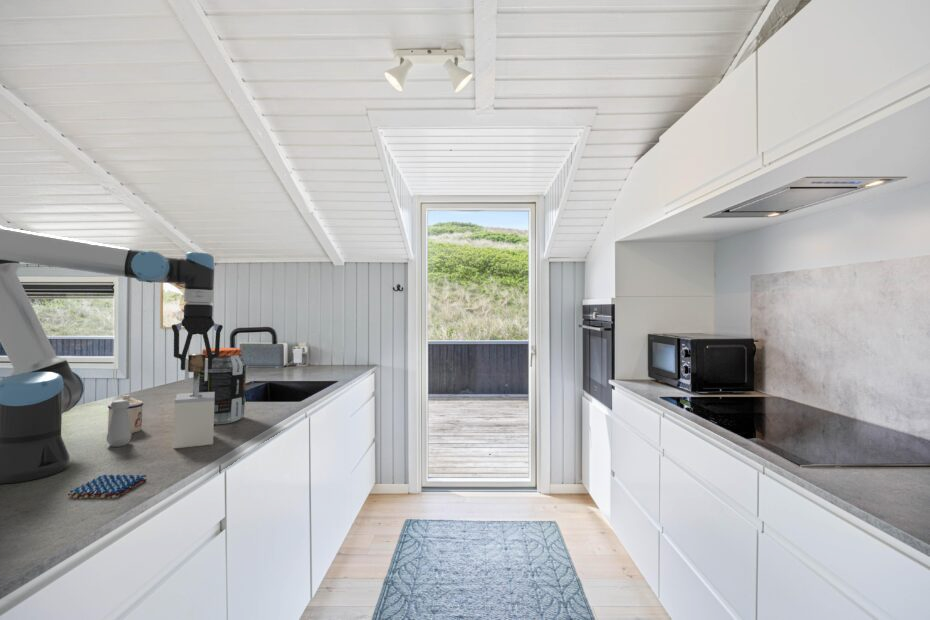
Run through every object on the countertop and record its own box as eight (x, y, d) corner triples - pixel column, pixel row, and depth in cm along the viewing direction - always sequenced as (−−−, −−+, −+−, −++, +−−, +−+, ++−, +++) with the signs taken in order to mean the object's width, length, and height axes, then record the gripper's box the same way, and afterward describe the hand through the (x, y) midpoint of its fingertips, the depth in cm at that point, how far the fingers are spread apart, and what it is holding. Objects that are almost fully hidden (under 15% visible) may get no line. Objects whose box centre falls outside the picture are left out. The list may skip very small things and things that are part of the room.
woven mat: (101, 481, 103) (101, 473, 103) (148, 482, 104) (148, 473, 104) (64, 501, 93) (64, 491, 93) (116, 501, 94) (117, 491, 94)
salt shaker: (102, 445, 127) (103, 400, 127) (125, 440, 132) (126, 397, 132) (112, 449, 125) (113, 403, 125) (135, 443, 130) (136, 399, 130)
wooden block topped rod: (179, 437, 129) (182, 356, 129) (181, 431, 135) (183, 353, 135) (208, 435, 132) (210, 355, 132) (208, 429, 139) (210, 353, 139)
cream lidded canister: (142, 432, 141) (143, 396, 141) (105, 437, 135) (107, 399, 135) (142, 424, 150) (143, 390, 150) (108, 427, 145) (109, 392, 145)
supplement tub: (253, 419, 161) (255, 349, 161) (209, 428, 148) (211, 351, 148) (229, 412, 170) (231, 346, 170) (185, 420, 156) (187, 348, 156)
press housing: (173, 448, 127) (174, 400, 127) (176, 439, 136) (177, 393, 136) (213, 444, 132) (214, 397, 132) (213, 435, 140) (214, 391, 140)
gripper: (162, 302, 126) (160, 384, 126) (231, 304, 135) (229, 380, 135) (165, 302, 133) (162, 380, 133) (230, 304, 141) (228, 377, 141)
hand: (196, 380), depth 134 cm, fingers closed on wooden block topped rod, 4 cm apart
